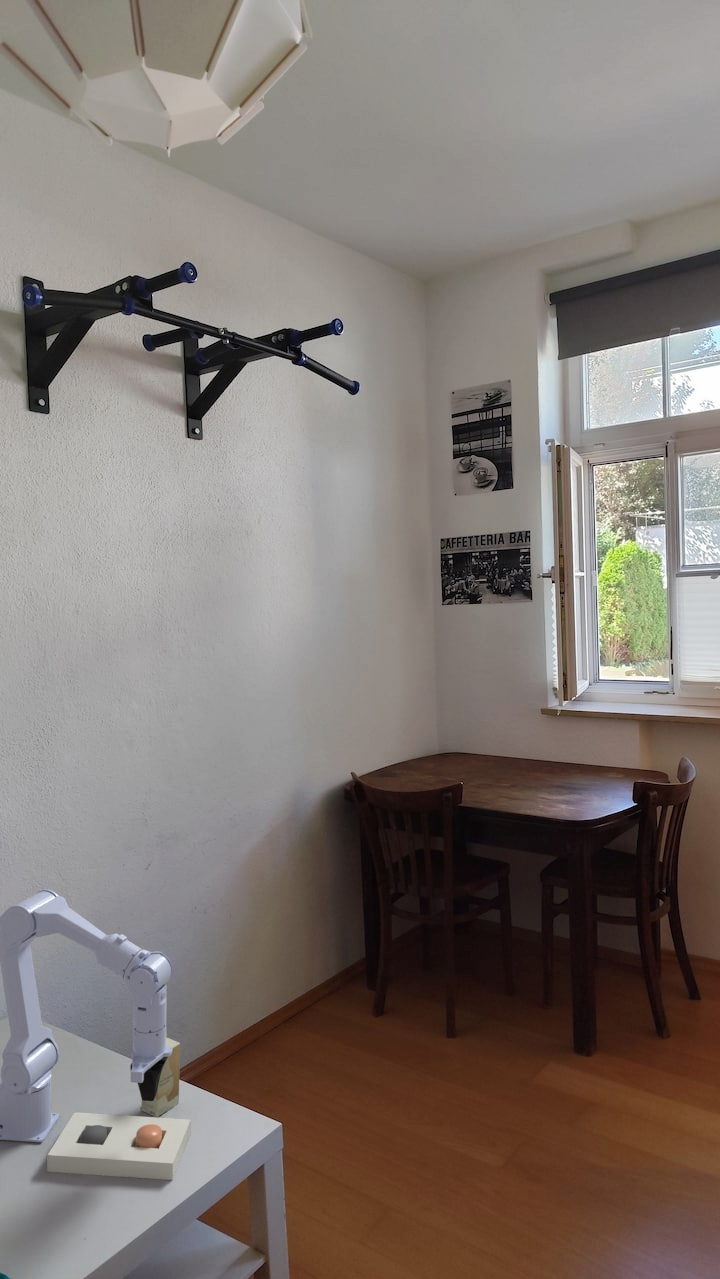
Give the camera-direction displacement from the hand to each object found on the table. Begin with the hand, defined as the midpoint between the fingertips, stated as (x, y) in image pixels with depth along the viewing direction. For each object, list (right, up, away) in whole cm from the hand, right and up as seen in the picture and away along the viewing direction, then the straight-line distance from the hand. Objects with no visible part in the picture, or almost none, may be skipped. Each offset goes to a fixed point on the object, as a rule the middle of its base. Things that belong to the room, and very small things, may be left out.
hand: (148, 1098), depth 152 cm
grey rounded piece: (-10, -10, +1) cm, 14 cm away
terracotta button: (0, -9, +1) cm, 9 cm away
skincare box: (-1, -10, +15) cm, 18 cm away
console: (-5, -10, +1) cm, 11 cm away
